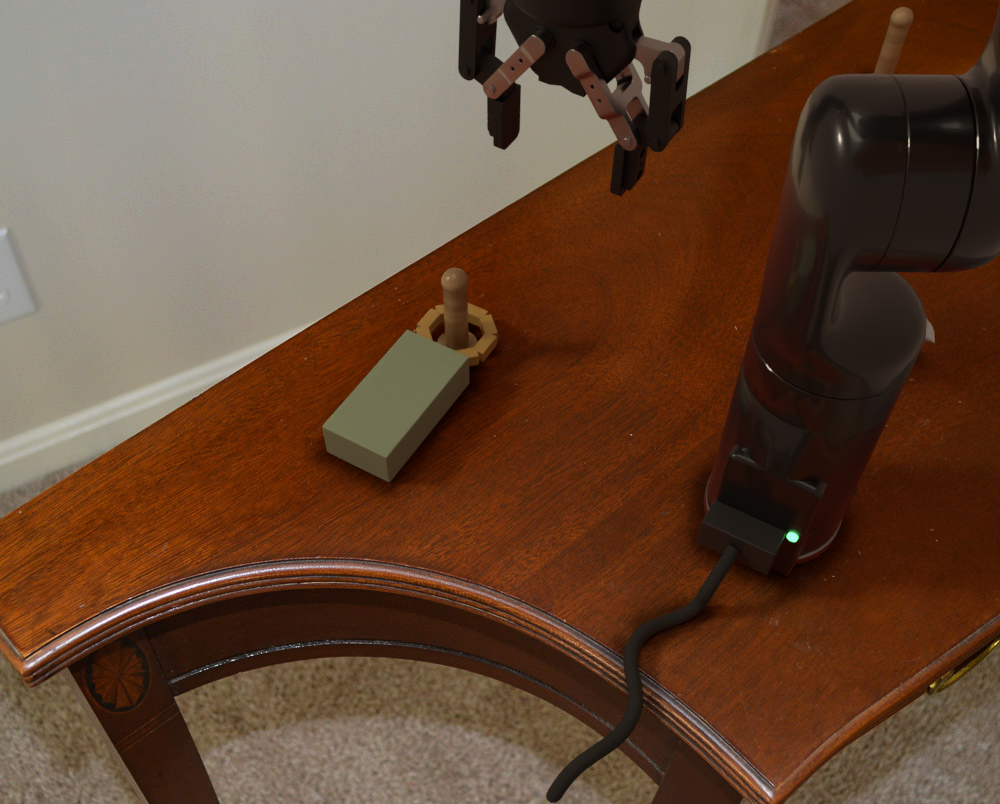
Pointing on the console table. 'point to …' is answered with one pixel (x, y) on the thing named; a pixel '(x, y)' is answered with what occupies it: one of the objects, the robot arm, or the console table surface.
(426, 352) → the grey-green bar
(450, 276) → the left peg
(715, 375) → the console table surface
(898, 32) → the right peg
